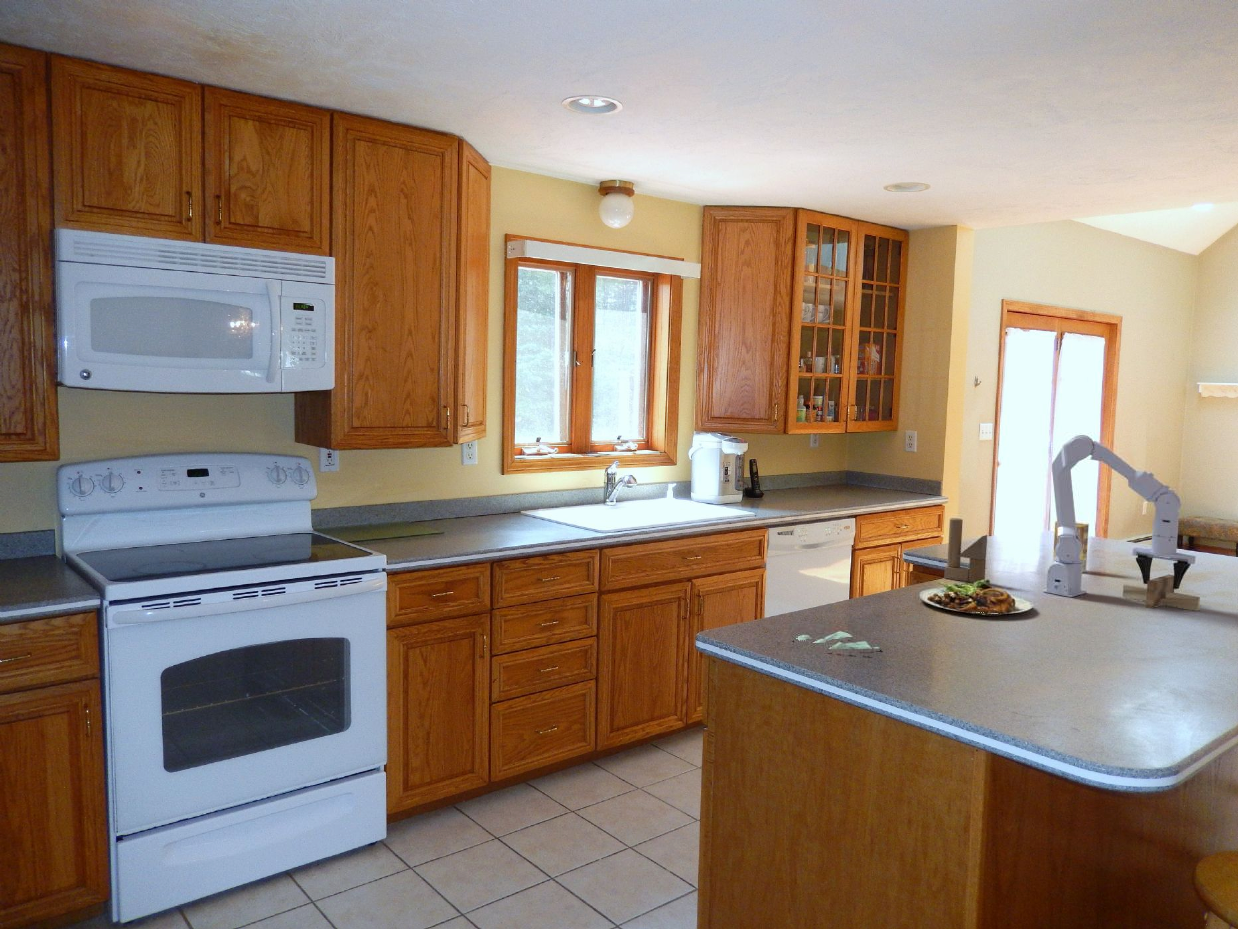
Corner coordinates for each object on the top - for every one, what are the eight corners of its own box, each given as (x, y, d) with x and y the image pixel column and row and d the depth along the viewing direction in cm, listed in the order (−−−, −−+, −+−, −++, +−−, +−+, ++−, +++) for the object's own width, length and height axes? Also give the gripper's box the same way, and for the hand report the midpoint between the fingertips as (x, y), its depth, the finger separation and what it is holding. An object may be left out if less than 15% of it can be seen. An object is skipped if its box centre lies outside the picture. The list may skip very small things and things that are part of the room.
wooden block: (980, 584, 257) (983, 523, 255) (943, 578, 264) (947, 518, 263) (985, 582, 260) (988, 521, 258) (949, 576, 267) (952, 517, 265)
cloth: (776, 640, 199) (776, 629, 199) (858, 632, 207) (858, 622, 207) (828, 667, 180) (828, 655, 180) (916, 657, 188) (916, 646, 188)
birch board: (1196, 611, 230) (1197, 598, 230) (1122, 597, 244) (1123, 584, 244) (1198, 610, 231) (1199, 597, 231) (1125, 596, 245) (1126, 584, 245)
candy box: (1086, 571, 278) (1089, 523, 276) (1081, 573, 275) (1084, 524, 274) (1056, 567, 284) (1059, 520, 283) (1051, 569, 281) (1054, 521, 280)
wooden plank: (1152, 608, 232) (1154, 581, 232) (1145, 606, 234) (1147, 580, 233) (1173, 600, 241) (1175, 575, 240) (1166, 599, 242) (1168, 574, 242)
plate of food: (958, 589, 251) (958, 568, 251) (1054, 609, 229) (1055, 586, 228) (896, 605, 235) (897, 583, 234) (994, 629, 212) (995, 604, 212)
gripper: (1201, 538, 233) (1197, 589, 234) (1141, 530, 244) (1138, 579, 245) (1191, 540, 228) (1187, 592, 229) (1130, 532, 239) (1127, 582, 241)
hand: (1161, 586), depth 237 cm, fingers open, 7 cm apart
